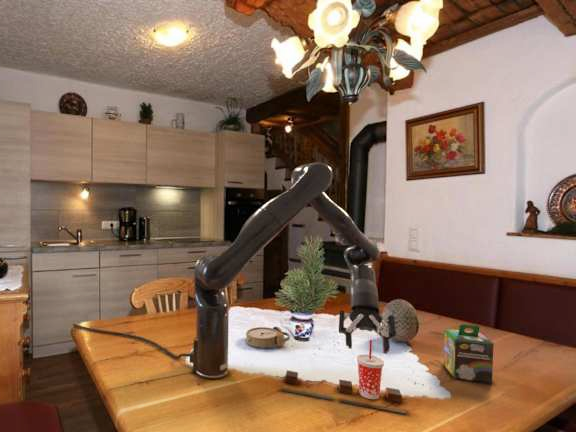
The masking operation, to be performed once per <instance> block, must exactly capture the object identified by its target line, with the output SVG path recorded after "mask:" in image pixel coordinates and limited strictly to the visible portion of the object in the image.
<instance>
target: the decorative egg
mask: <svg viewBox="0 0 576 432" xmlns="http://www.w3.org/2000/svg"><path fill="white" fill-rule="evenodd" d="M381 316H382V317H388V316H392V317H393V320H394V325H395V330H396V336H395V339H394V340H393V341H396V342H399V343H400V342H401V343H404V342H410V341H411V340H414V339H415V337H416V336H417V335H418V332H419V329H420V319H419V318H420V317H419V315H418V312H417V310H416V308H415V307H414V306H413V305H412V304H411V303H410V302H409V301H407V300H404V299H401V298H396V299H393V300H391V301H389V302H388V303H387V304H386V305H385V306H384V308H383V310H382V313H381ZM381 325H382V327H383V328H384V330H385V331H386V332H387V333H389V330H388V325H385V323H384V322H383V321H382V322H381Z"/></svg>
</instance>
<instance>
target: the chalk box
mask: <svg viewBox="0 0 576 432" xmlns="http://www.w3.org/2000/svg"><path fill="white" fill-rule="evenodd" d="M466 329H472V330H466ZM443 335H444V336H443V337H444V338H443V341H444V342H443V366H444V367H445V369H446V370H447V371H448V373H450V375H451V376H452V378H453V379H459V380H465V381H472V382H478V383H483V384H484V383H485V384H490V385H492V384H493V369H494V368H493V367H494V346H495V345H494V344H495V343H494V342H493V341H491V340H490V339H489V338H488V337H486V336H485V335H484V334H483V333H481V332H480V326H479V325H475V324H466V323H460V325H459V328H458V329H449V328H445V329H444V334H443Z"/></svg>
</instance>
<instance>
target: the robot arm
mask: <svg viewBox="0 0 576 432" xmlns="http://www.w3.org/2000/svg"><path fill="white" fill-rule="evenodd" d="M333 176H334V175H333V170H332V168H331V167H330V166H329V165H328V164H326V163H324V162H311V163H305V164H301V165H299V166H297V167H295V168H294V170H292V173H291V177H290V178H291V179H290V180H291V184H292V186H291V187H290V188H289V189H287V190H286V191H284V192H282V193H281V194H279V195H277V196H275V197H273V198H272V199H270V200H268V201H267V202H265V203H263V204H262V205H261V206H260V207H259V208H258V209H257V210H256V211H254V213H252V214H251V215H250V216H249V217H248V219H246V221H245V223H244V224H243V225H242V227H241V229H240V232H239V233H238V235H237V237H236V238H235V240H234V241H233V242H232V243H231V244H230V246H228V247H227V248H226V249H225V250H224V251H222V252H221V253H220V254H218V255H216V254H215V255H214V254H206V255H203V256H201V257H200V258H199V259H198V260H197V262H196V264H195V266H194V271H193V283H194V284H193V288H194V289H193V291H194V294H193V295H194V302H195V306H196V313H195V315H196V316H195V322H196V323H195V338H194V339H193V349H192V351H191V352H190V353H180V354H178V355H176V354H173V353H172V352H171V351H170V350H168V349H167V348H165V347H163V346H162V345H160V344H158V343H157V342H155V341H152V340H150V339H148V338H145V337H142V336H139V335H136V334H135V335H134V334H130V333H124V332H117V331H111V330H104V329H97V328H91V327H86V326H82V325H79V324H76V323H72V326H73V327H76V328H78V329H82V330H87V331H90V332H91V331H92V332H98V333H105V334H112V335H113V334H114V335H118V336H125V337H130V338H134V339H138V340H142V341H145V342H147V343H149V344H152V345H154V346H155V347H157V348H159V349H160V350H162V351H164V352H165V353H166V354H168V355H169V356H170V357H172V358H174V359H180V358H182V357H189V363H190V364H191V363H192V373H193V374H196V375H198V377H201V378H205V379H210V380H214V379H215V380H217V379H221V378H224V377H226V376H227V375H228V373H229V319H230V303H229V301H228V300H227V296H226V294H225V289H227V288H228V287H229V286H230V285H231V284H232V283H233V282H234V281H235V280H236V279H237V277H238V276H239V275H240V274H241V273H242V271H243V270H244V269H245V267H246V266H247V265H248V264H249V263H250V262H251V261H252V260H253V259H254V258H255V257H256V256H257V255H258V254H259V253H260V252H261V251H262V250H263V249H264V248H265V247H267V245H268V244H269V243H271V241H272V240H274V239H275V237H277V236H278V235H279V234H280V233H281V232H282V231H283V230H284V229H285V228H286V226H287V225H288V224H289V223H290V222H292V220H294V219H295V218H296V217H297V216H298V215H299V214H300V213H301V212H302V210H303V209H304V208H306V207H307V206H308V205H310V206H311V208H313V209H314V210H315V212H317V214H318V215H319V216H320V217H321V219H322V220H323V221H324V222H325V224H326V225H327V226H328V227H329V229H330V231H331V232H332V234H333V235H334V236H335V238H336V239H337V241H338V242H339V243H340V245H343V246H347V247H346V248H345V249H344V250H343V258H344V261H345V263H346V265H347V268H348V271H349V276H350V290H349V300H350V312H345V311H344V310H343V309H342V310H340V311H339V316H338V317H339V320H338V333H340V334H344V335H345V346H346V347H348V349H352V348H353V338H352V337H353V336H352V334H353V333H355V331H356V330H357V329H359V330H360V331H368V332H374V333H375V334H377V336H379V337H380V338H381V339H382V340H381V343H382V353H383V354H384V355H387V354H388V353H390V352H389V351H390V349H391V346H390V341H391V340H392V341H395V340H394V339H395V336H396V330H395V325H394V320H393V317H392V316H388V317H382V314H381V313H380V303H379V302H380V301H379V293H378V287H377V280H376V272H375V269H374V268H373V267H372V266H370V265H368V264H371V263H375V262H377V261H378V260H379V259H380V256H381V253H380V249H379V248H378V246H377V244H376V243H375V242H374V241H373V240H372V239H370V237H368V236H366V235H365V234H364V233H363V232H362V231H361V230H360V229H359V228H358V226H357V225H356V223H355V222H354V221H353V218H352V217H351V216H350V215H349V214H348V213H347V212H346V211H345V209H344V208H342V207H341V206H339V205H338V204H337V203H335V202H334V201H333V200H332V199H330V197H329V196H328V195H327V194H326V193H325V192H326V191H327V190H328V188H329V187H330V186H331V184H332V181H333ZM348 319H349V320H350V322H351V323H350V324H349V326H348V327H345V321H347V320H348ZM382 321H383V322H384V323H385V325H388V330H389V333H387V332H386V331H385V330H384V328H383V327H382Z"/></svg>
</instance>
